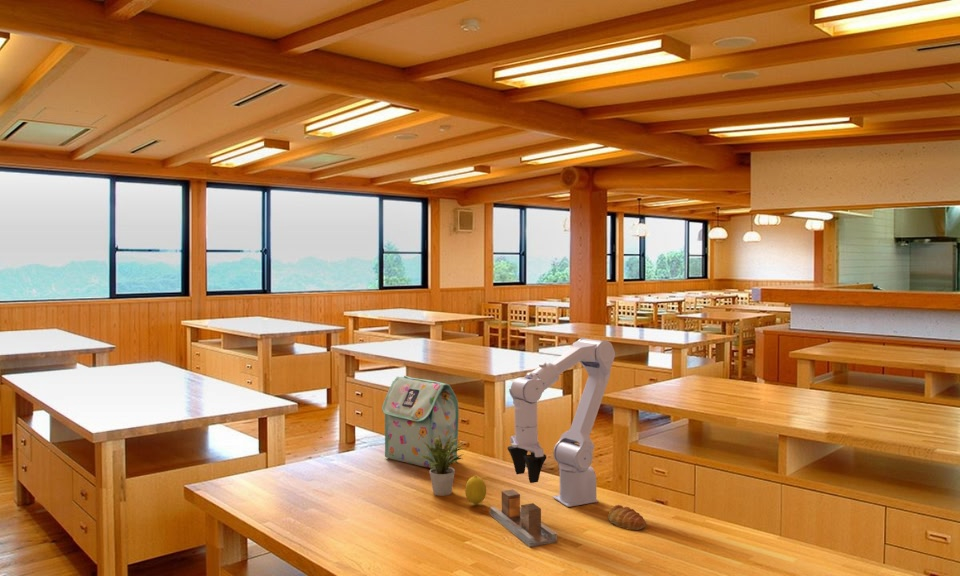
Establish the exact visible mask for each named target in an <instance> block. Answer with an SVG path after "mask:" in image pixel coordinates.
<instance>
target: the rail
mask: <svg viewBox="0 0 960 576" xmlns="http://www.w3.org/2000/svg"><path fill="white" fill-rule="evenodd" d="M489 516H490V517H492V518H493V519H494V520H496V521H497V522H498V523H499V524H501V525H502V526H503V527H504V528H505V529H507V530H508V531H509V532H510V533H511V534H513V536H515V537H516V538H517V539H519V540H520V541H521V542H523V543H524V544H525V545H526V546H528V548H533V547H534V548H535V547H539V546H542V545H543V546H544V545H549V544H554V543H557V542H558V541H557V540H558V538H557V537H558V536H557V535H558V533H556V532H555V531H554V530H552V529H551V528H550V527H548V526H547V525H546V524H545V523H542V508H541V507H539V506H538V505H536V504H535V503H533V502H531V503H527V504H520V518H517V519H510V518H508V517H507V516H506V515H504V514H503V513H502V509H500V510H499V509H498V508H497V507H496V506H490V507H489Z"/></svg>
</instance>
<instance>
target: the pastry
mask: <svg viewBox="0 0 960 576" xmlns="http://www.w3.org/2000/svg"><path fill="white" fill-rule="evenodd" d="M607 519H608V521H610V523H611V524H614V525H615V526H616V527H619V526H620V527H621V528H622V527H624V528H623V529H626V528H628V529H627V530H630V529H633V530H635V531H639V530H642V529H645V527H646V524H647V521H646V520H645V518H644V516H642V515H641V514H640V513H639V512H637V511H636V510H635V509H634V508H630V507H628V506H625V507H624V506H623V505H619V504H617V505H614V506H613V507H612V508H611V509H610V510H609V513H608V514H607Z"/></svg>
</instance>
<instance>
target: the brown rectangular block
mask: <svg viewBox="0 0 960 576" xmlns="http://www.w3.org/2000/svg"><path fill="white" fill-rule="evenodd" d="M520 507H521V494H520V493H519V492H518V491H516V490H515V489H506V490H501V510H502V513H503V514H504V515H506V516H507V517H508V518H510V519H517V518H520Z"/></svg>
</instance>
